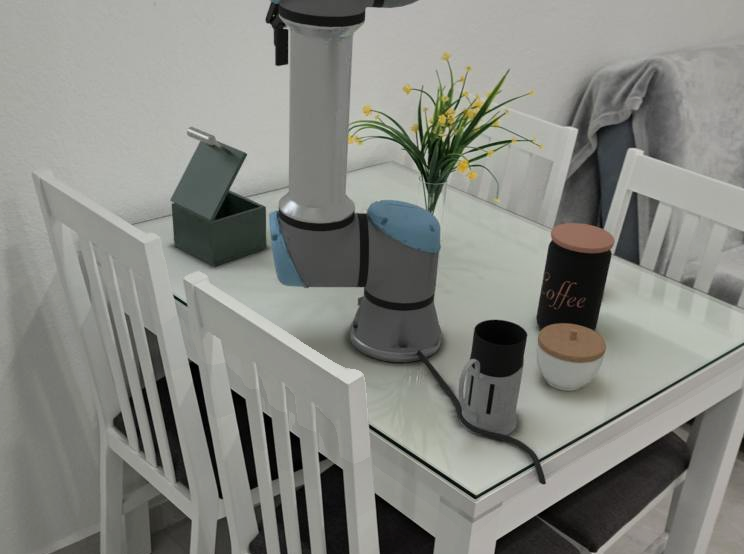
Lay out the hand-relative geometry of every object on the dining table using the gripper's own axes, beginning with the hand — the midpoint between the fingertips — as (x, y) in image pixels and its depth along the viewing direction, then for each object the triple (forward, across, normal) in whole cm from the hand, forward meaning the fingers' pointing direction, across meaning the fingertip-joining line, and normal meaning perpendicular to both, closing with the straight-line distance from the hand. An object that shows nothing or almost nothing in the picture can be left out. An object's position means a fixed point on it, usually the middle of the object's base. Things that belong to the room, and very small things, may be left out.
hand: (305, 72), depth 174 cm
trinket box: (+32, -71, +10) cm, 79 cm away
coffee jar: (+32, -62, -6) cm, 70 cm away
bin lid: (+17, +3, +21) cm, 28 cm away
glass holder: (+32, -70, +30) cm, 83 cm away
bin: (+32, +3, +19) cm, 37 cm away
